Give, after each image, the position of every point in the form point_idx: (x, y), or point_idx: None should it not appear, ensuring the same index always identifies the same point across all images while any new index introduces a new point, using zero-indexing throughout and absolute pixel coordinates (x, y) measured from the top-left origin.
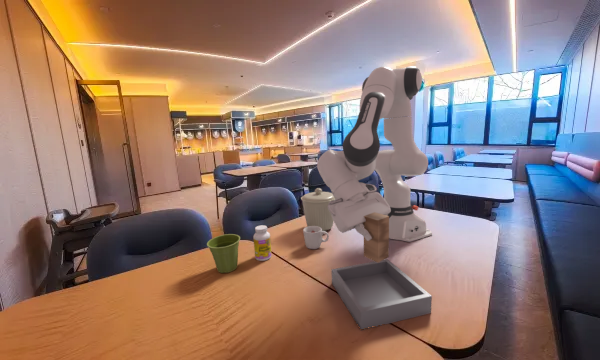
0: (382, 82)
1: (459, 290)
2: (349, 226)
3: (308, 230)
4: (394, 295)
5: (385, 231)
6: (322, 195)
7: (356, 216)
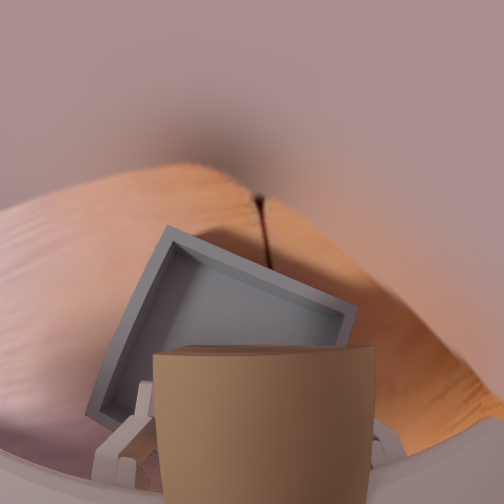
0: None
1: (55, 234)
2: (489, 417)
3: None
4: (189, 328)
5: (222, 349)
6: None
7: (437, 498)
